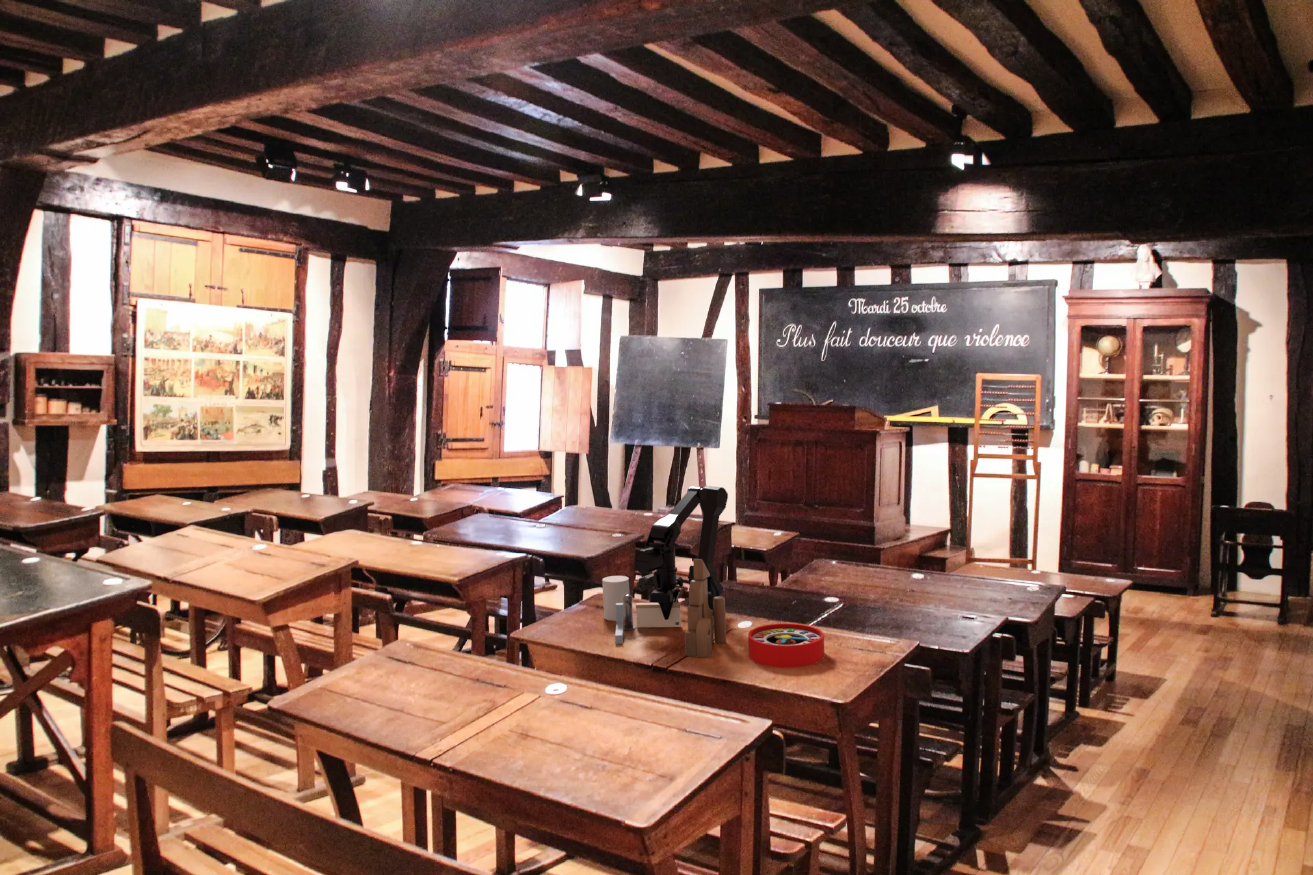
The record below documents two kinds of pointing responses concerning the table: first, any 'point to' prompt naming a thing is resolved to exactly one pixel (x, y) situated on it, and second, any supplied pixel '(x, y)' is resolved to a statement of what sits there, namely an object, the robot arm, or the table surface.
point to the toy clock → (786, 645)
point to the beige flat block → (657, 615)
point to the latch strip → (619, 624)
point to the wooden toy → (703, 616)
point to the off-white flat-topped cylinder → (614, 594)
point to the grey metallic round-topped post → (628, 612)
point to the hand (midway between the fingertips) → (667, 617)
